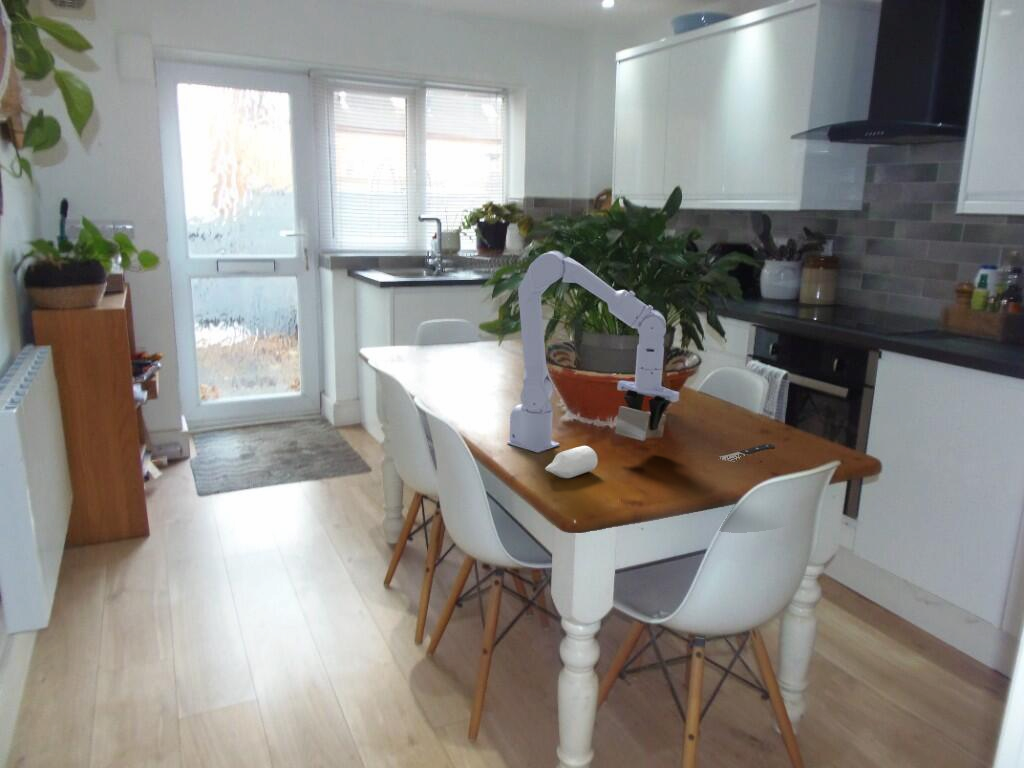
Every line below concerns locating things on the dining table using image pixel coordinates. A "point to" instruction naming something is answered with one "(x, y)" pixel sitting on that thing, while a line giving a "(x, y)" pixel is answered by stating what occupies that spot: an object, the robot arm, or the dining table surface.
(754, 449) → the kitchen knife
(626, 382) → the robot arm
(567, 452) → the white pointed cylinder
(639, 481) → the dining table surface
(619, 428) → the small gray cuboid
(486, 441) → the dining table surface
